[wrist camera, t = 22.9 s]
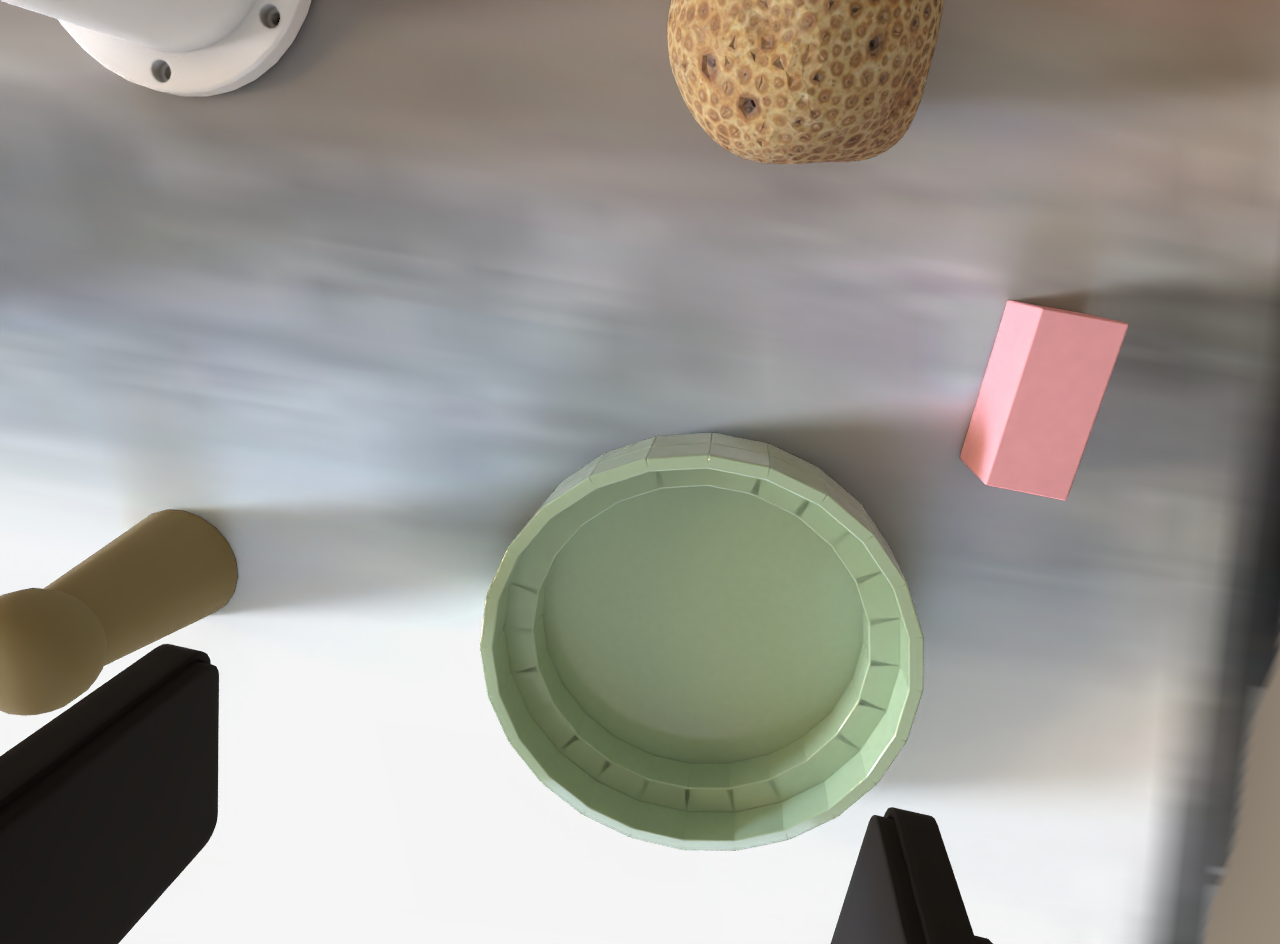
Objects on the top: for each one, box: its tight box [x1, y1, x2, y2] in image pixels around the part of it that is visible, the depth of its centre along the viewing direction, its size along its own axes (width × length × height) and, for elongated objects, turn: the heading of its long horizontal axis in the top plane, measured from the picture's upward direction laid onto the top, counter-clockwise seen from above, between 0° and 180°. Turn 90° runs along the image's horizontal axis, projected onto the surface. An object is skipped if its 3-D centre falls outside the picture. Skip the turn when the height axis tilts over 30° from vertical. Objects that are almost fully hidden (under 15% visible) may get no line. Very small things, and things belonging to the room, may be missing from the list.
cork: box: [0, 510, 238, 715], centre depth 36 cm, size 6×6×11 cm
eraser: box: [960, 300, 1129, 500], centre depth 32 cm, size 7×3×4 cm, turn 170°
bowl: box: [480, 433, 924, 851], centre depth 37 cm, size 19×19×4 cm
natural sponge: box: [667, 0, 944, 164], centre depth 27 cm, size 9×9×10 cm
